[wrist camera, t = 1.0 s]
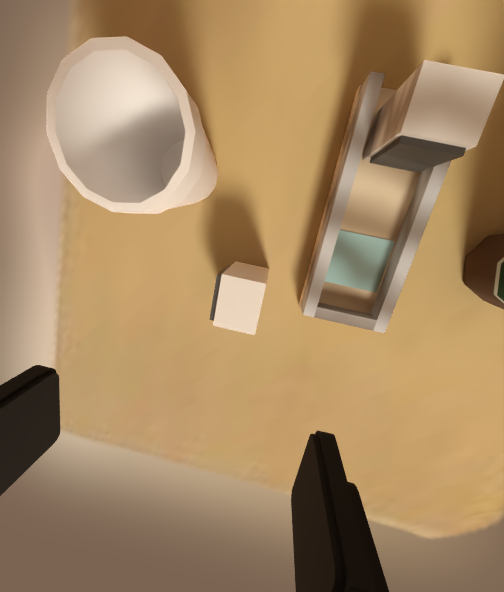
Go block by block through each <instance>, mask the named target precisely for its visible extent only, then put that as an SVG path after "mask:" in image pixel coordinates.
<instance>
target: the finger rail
mask: <svg viewBox="0 0 504 592" xmlns="http://www.w3.org/2000/svg"><path fill="white" fill-rule="evenodd" d="M384 77H385V73H379V72H374V71H371V72H370V73H369V75H368V77H367V78H366V80H365V81H364V83H361V84H360V86H359V87H358V89H357V91H356V94H355V97H354V101H353V105H352V109H351V112H350V116H349V120H348V123H347V127H346V131H345V135H344V138H343V142H342V146H341V149H340V153H339V157H338V160H337V164H336V168H335V172H334V175H333V179H332V183H331V186H330V190H329V194H328V197H327V201H326V205H325V209H324V212H323V216H322V220H321V223H320V227H319V231H318V235H317V238H316V242H315V246H314V249H313V253H312V257H311V260H310V264H309V268H308V272H307V275H306V279H305V283H304V286H303V290H302V294H301V298H300V301H299V308H300V309H301V310H302V313H303V315H306V316H310V317H315V318H319V319H324V320H328V321H333V322H337V323H341V324H346V325H350V326H355V327H359V328H364V329H368V330H373V331H377V332H382V333H385V331H386V328H387V326H388V323H389V320H390V318H391V315H392V313H393V310H394V308H395V305H396V302H397V300H398V297H399V295H400V292H401V289H402V287H403V284H404V282H405V279H406V277H407V274H408V271H409V269H410V266H411V264H412V261H413V258H414V256H415V253H416V251H417V248H418V245H419V243H420V240H421V238H422V235H423V233H424V230H425V227H426V225H427V222H428V220H429V217H430V214H431V212H432V209H433V207H434V204H435V201H436V199H437V196H438V194H439V191H440V189H441V186H442V183H443V181H444V178H445V176H446V173H447V170H448V168H449V165H450V163H451V160H453V159H456V158H459V157H462V156H463V155H464V153H465V151H466V150H469V149H472V148H474V147H476V146H477V144H478V141H479V139H480V137H481V134H482V132H483V129H484V127H485V124H486V122H487V119H488V117H489V114H490V112H491V109H492V107H493V105H494V102H495V100H496V97H497V95H498V92H499V90H500V87H501V85H502V82H503V80H504V74H499V73H493V72H488V71H482V70H477V69H472V68H466V67H461V66H455V65H450V64H444V63H439V62H434V61H428V60H424V61H423V62H422V63H421V64H420V65H419V66H418V67H417V68H416V70H415V71H414V72H413V73H412V74H411V75H410V76H409V77H408V79H407V80H406V81H405V82H404V83H403V84H402V85H401V86H400V87H399V89H398V90H394V89H389V88H384V87H382V83H383V80H384Z"/></svg>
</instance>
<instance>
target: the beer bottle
mask: <svg viewBox="0 0 504 592" xmlns="http://www.w3.org/2000/svg"><path fill="white" fill-rule="evenodd" d="M464 284H465V285H466V286H467V287H468V288H470V289H471V290H472V291H473V292H474V293H475V294H477V295H478V296H479V297H480V298H481V299H482V300H484V301H486V302H488V303H490V304H493V305H495V306H497V307H500V308H502V309H504V234H499V235H490V236H489V237H487V238H486V239H485V240H484V241H483V242H482V243H481V244H480V245H479V246H478V247H477V248H476V249H474V250H473V251H472V252H471V253H470V254H469V255H468V256H467V257H466V262H465V273H464Z"/></svg>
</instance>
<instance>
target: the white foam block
mask: <svg viewBox="0 0 504 592" xmlns="http://www.w3.org/2000/svg"><path fill="white" fill-rule="evenodd" d="M268 272H269V268H265V267H260V266H255V265H251V264H246V263H242V262H237V261H236V262H235V263H233V264H232V265H228V266H227V267H226V268H225V269H224V270H222V271H221V272H220V273H219V274H218V275H217V278H216V284H215V290H214V296H213V302H212V308H211V314H210V320H214V322H213V326H217V327H221V328H226V329H230V330H234V331H239V332H243V333H248V334H252V335H255V332H256V327H257V323H258V318H259V314H260V310H261V305H262V301H263V296H264V292H265V287H266V283H267V277H268Z"/></svg>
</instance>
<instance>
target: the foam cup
mask: <svg viewBox="0 0 504 592" xmlns="http://www.w3.org/2000/svg"><path fill="white" fill-rule="evenodd" d="M46 131H47V135H48V138H49V141H50V144H51V146H52V149H53V152H54V155H55V157H56V160H57V163H58V165H59V168H60V170H61V171H62V172H63V174H64V175H65V176H66V177H67V178H68V179H69V181H70V182H71V183H72V184H73V185H74V187H75V188H76V189H77V190H78V191H79V192H80V194H81V195H82V196H83V197H85V198H87V199H88V200H90V201H92V202H94V203H96V204H98V205H100V206H102V207H104V208H106V209H108V210H110V211H112V212H121V213H147V214H159V213H161V212H163V211H165V210H167V209H170V208H175V207H180V206H185V205H189V204H194V203H198V202H199V201H201V200H203V199H205V198H207V197H208V196H209V195H210V194H211V192H212V191H213V189H214V188H215V187H216V182H217V177H218V169H217V165H216V160H215V157H214V154H213V152H212V149H211V147H210V144H209V142H208V139H207V137H206V134H205V132H204V129H203V127H202V122H201V118H200V114H199V109H198V107H197V105H196V104H195V102H194V101H193V99H192V98H191V97H190V95H189V94H188V92H187V91H186V89H185V88H184V86H183V85H182V84H181V82H180V81H179V79H178V78H177V77H176V75H175V74H174V72H173V71H172V70H171V68H170V67H169V65H168V64H167V63H166V61H165V60H164V58H163V57H162V56H161V55H160V54H158V53H156V52H154V51H153V50H151V49H149V48H147V47H145V46H143V45H142V44H140V43H138V42H136V41H134V40H133V39H131V38H129V37H127V36H124V37H102V38H90V39H89V40H88V41H86V42H85V43H83V44H82V45H81V46H79V47H78V48H77V49H75V50H74V51H73V52H71V53H70V54H68V55H67V56H66V57H64V58H63V59H62V61H61V63H60V65H59V67H58V70H57V72H56V74H55V76H54V79H53V81H52V83H51V85H50V88H49V90H48V92H47V130H46Z"/></svg>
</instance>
